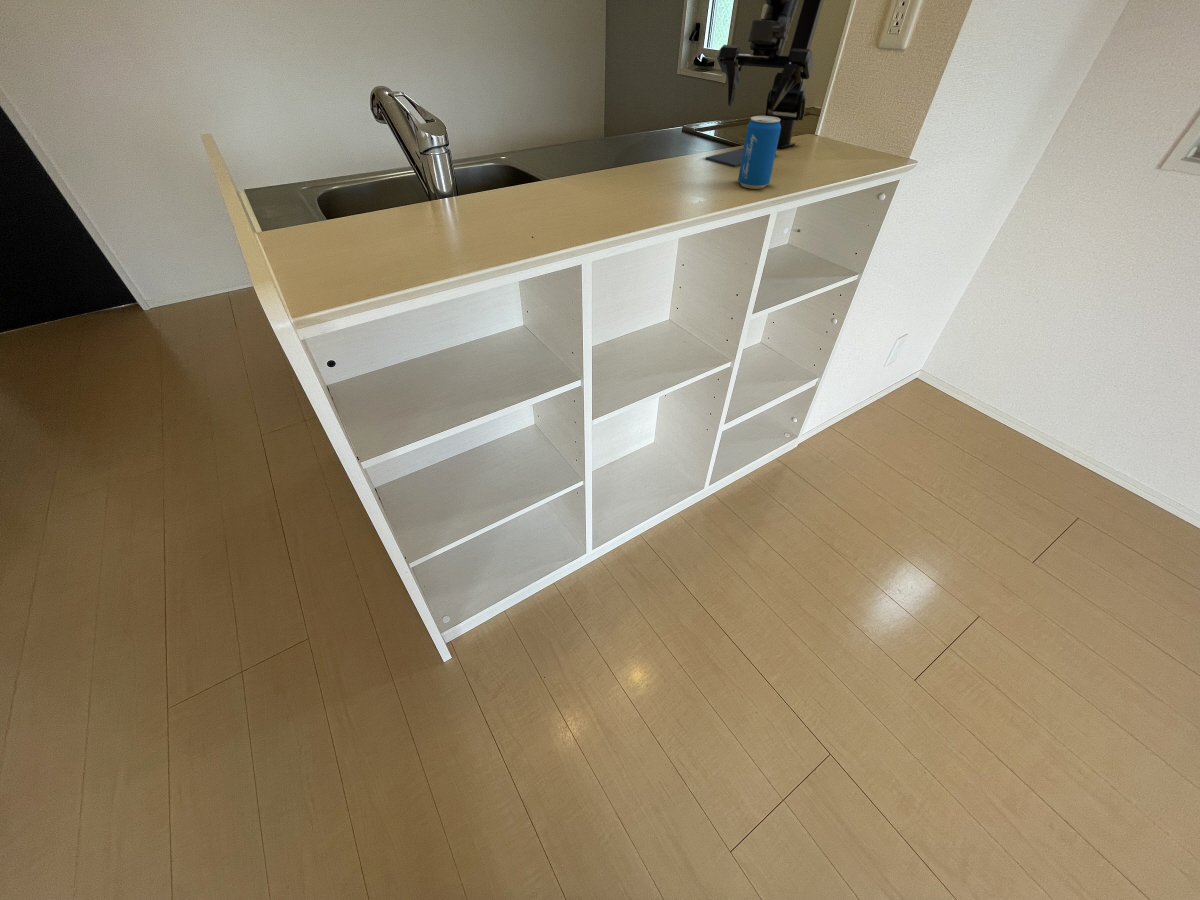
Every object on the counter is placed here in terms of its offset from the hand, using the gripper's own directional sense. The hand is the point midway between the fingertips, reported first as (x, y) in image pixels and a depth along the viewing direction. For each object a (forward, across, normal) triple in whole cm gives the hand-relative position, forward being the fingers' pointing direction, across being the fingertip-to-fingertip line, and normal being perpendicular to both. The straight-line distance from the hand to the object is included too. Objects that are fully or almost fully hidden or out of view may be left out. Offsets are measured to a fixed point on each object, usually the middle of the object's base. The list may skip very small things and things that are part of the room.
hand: (750, 107), depth 106 cm
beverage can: (+15, +6, 0) cm, 16 cm away
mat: (+4, -4, +18) cm, 19 cm away
